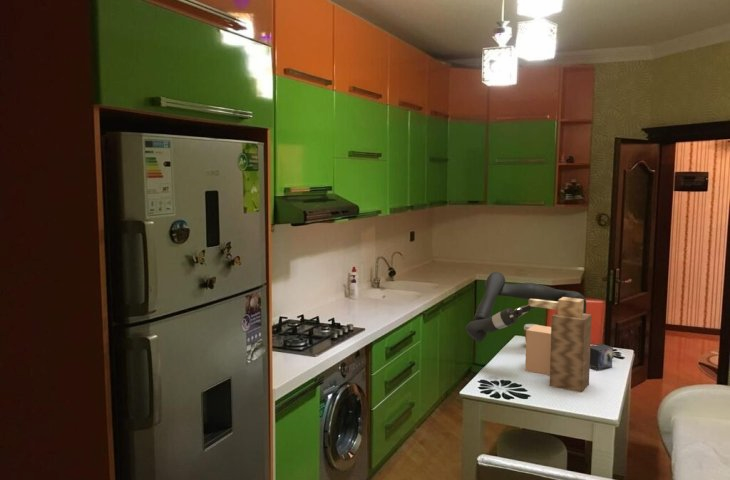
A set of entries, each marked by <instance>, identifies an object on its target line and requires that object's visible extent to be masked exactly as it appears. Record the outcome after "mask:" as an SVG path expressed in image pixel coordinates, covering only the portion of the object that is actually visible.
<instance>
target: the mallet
mask: <svg viewBox="0 0 730 480" xmlns="http://www.w3.org/2000/svg"><path fill="white" fill-rule="evenodd" d="M527 305H528V306H529V305H530V306H532V307H535V308H541V309H549V310H557V312H558V315H560V316H568V317H575V318H580V317H581V316H582V315H583V308H584V299H577V298H568V297H562V298H560V299H559V300H558V302H557V301H548V300H540V299H529V300H528V304H527Z"/></svg>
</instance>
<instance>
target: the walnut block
mask: <svg viewBox="0 0 730 480" xmlns="http://www.w3.org/2000/svg"><path fill="white" fill-rule="evenodd" d="M592 316H593V315H592V314H591V313H589V314H588V313H586V314H584V313H583V315H582V316H581V317H580V318H575V317H568V316H560V315H558V311H556V312H555V313H554V314H552V315H551V323H550V324H551V325H550V327H551V353H550V375H549V387H553V388H557V389H562V390H567V391H572V392H576V393H583V392H584V391H585V390H586V389H587V387H589V385H590V369H591V368H590V346H592V343H591V342H592V341H591V340H592V339H591V338H592V337H591V336H592V320H593V319H592Z"/></svg>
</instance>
